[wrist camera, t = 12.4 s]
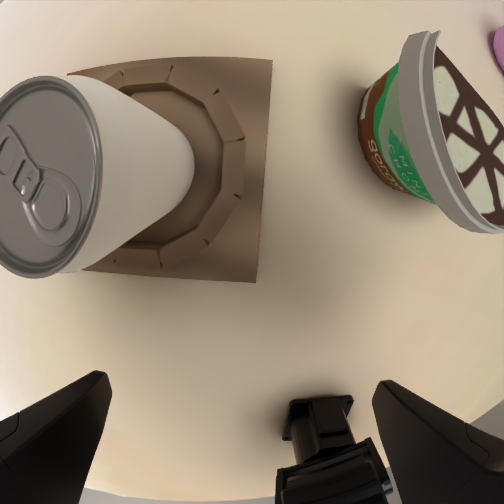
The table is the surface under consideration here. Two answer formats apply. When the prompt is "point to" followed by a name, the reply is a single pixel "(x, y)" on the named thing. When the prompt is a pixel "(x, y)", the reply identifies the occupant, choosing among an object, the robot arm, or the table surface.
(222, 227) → the brown ring stand base
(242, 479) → the table surface
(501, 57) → the container set
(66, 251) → the can
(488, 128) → the food container
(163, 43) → the table surface
